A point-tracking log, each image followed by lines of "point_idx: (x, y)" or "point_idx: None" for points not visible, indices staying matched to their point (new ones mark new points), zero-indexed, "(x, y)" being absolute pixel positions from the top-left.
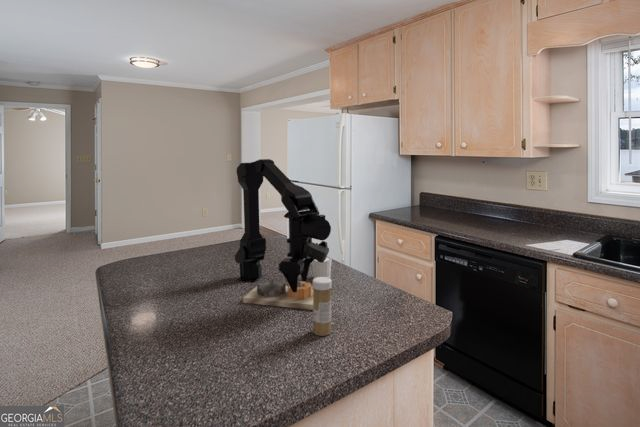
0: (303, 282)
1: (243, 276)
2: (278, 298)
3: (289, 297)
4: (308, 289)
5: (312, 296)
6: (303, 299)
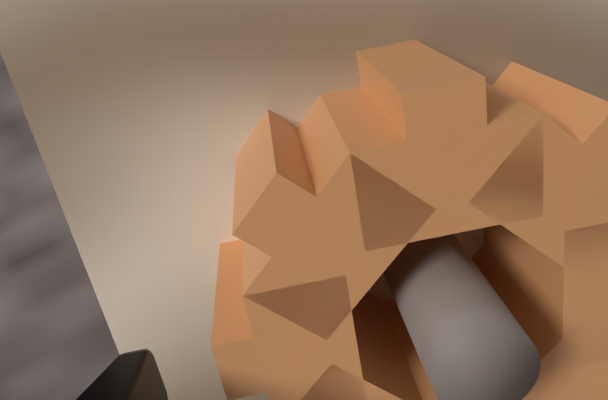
0: (283, 341)
1: None
2: None
3: None
4: (488, 105)
5: (400, 15)
6: None
